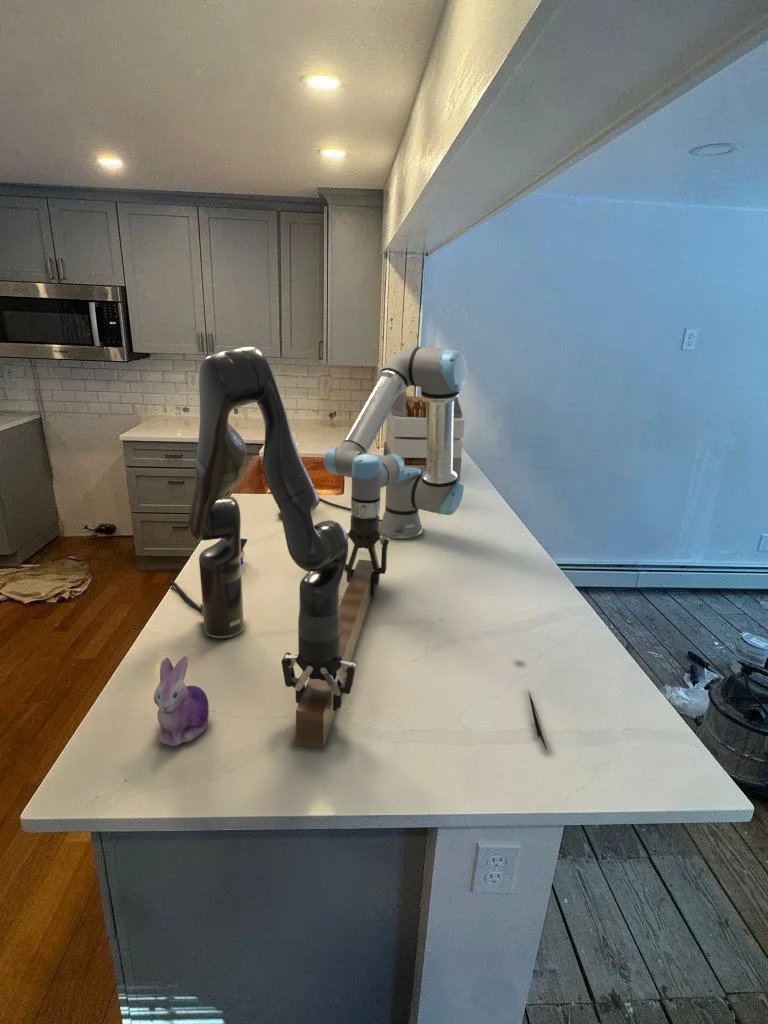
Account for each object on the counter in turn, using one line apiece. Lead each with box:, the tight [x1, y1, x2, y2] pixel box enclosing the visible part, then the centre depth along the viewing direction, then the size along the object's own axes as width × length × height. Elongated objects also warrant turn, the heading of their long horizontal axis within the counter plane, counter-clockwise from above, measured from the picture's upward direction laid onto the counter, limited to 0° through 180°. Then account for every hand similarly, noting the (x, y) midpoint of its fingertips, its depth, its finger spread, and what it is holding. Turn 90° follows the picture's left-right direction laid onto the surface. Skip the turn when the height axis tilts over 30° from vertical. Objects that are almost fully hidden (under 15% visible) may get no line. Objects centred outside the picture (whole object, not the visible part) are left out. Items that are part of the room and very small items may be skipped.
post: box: [295, 559, 374, 749], centre depth 131 cm, size 65×5×8 cm, turn 173°
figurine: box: [153, 655, 210, 747], centre depth 102 cm, size 9×10×15 cm
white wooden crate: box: [383, 389, 465, 482], centre depth 268 cm, size 34×33×41 cm
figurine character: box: [240, 537, 248, 567], centre depth 166 cm, size 7×8×15 cm
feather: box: [528, 689, 548, 751], centre depth 116 cm, size 2×28×2 cm
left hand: (319, 705), depth 108 cm, fingers open, 6 cm apart
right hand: (362, 593), depth 156 cm, fingers closed on post, 5 cm apart
